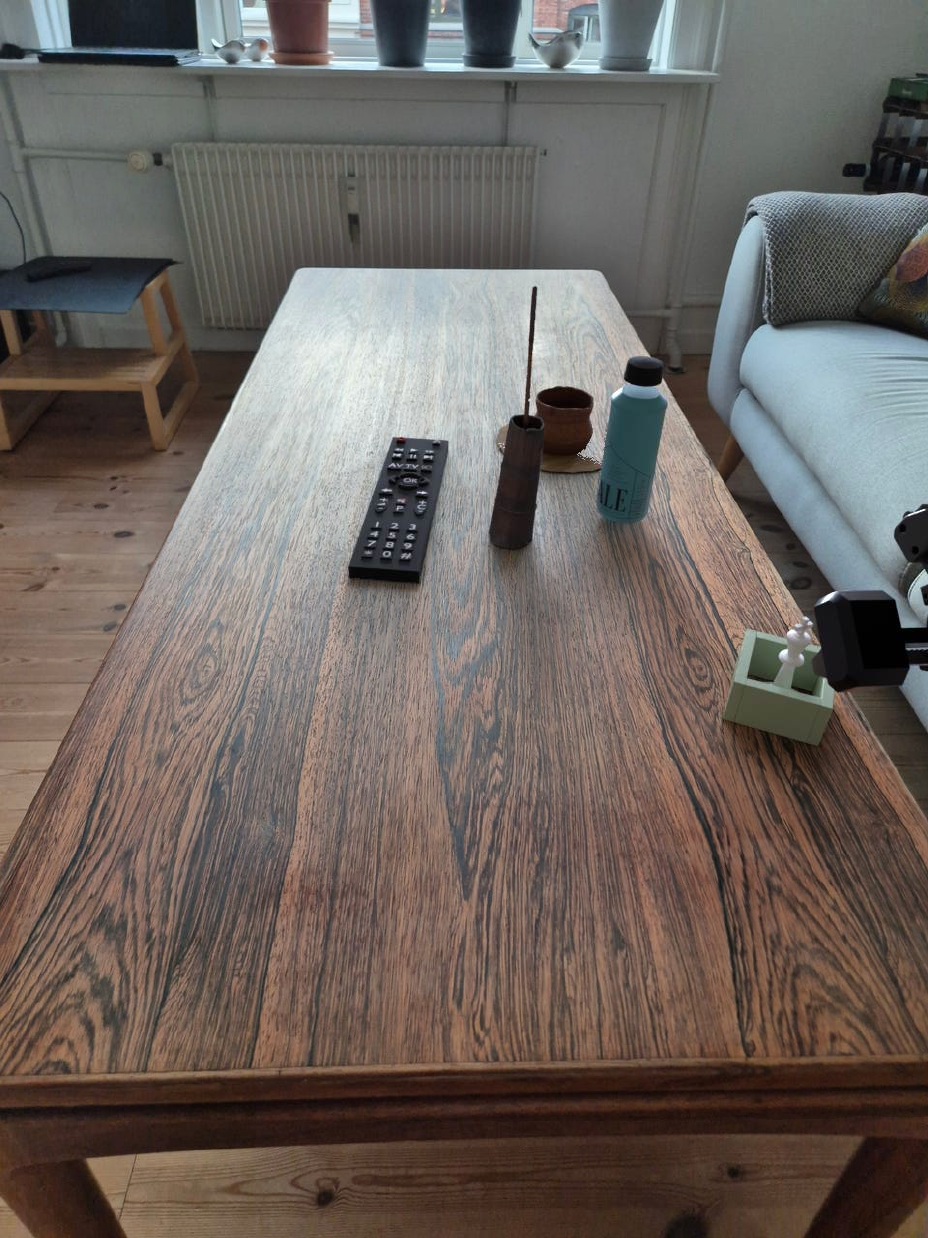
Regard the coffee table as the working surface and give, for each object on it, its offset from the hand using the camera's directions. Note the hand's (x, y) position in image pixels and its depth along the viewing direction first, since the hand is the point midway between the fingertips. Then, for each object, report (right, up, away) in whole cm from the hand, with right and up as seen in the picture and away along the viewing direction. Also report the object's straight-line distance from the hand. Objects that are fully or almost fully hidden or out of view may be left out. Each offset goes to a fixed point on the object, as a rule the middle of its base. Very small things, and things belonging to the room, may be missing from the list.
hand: (868, 665), depth 63 cm
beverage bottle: (-11, +15, +39) cm, 44 cm away
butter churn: (-24, +12, +35) cm, 44 cm away
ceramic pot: (-17, +28, +56) cm, 64 cm away
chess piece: (-2, -5, +14) cm, 15 cm away
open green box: (-2, -4, +14) cm, 15 cm away
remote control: (-37, +17, +41) cm, 58 cm away
